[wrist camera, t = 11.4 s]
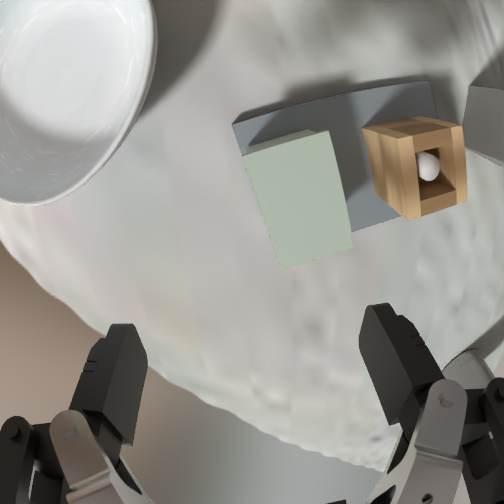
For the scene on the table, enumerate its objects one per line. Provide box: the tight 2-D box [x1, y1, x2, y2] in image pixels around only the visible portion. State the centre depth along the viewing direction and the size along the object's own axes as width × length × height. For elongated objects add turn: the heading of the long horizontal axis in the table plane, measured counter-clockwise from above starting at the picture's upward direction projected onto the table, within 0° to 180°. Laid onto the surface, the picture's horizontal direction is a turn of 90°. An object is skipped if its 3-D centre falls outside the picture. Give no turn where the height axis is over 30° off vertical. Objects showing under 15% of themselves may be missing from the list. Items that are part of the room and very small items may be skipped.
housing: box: [242, 129, 354, 270], centre depth 21 cm, size 9×6×5 cm, turn 18°
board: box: [232, 81, 440, 232], centre depth 21 cm, size 12×18×6 cm, turn 108°
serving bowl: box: [0, 0, 158, 206], centre depth 16 cm, size 21×21×7 cm
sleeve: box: [362, 116, 467, 221], centre depth 20 cm, size 6×6×6 cm
